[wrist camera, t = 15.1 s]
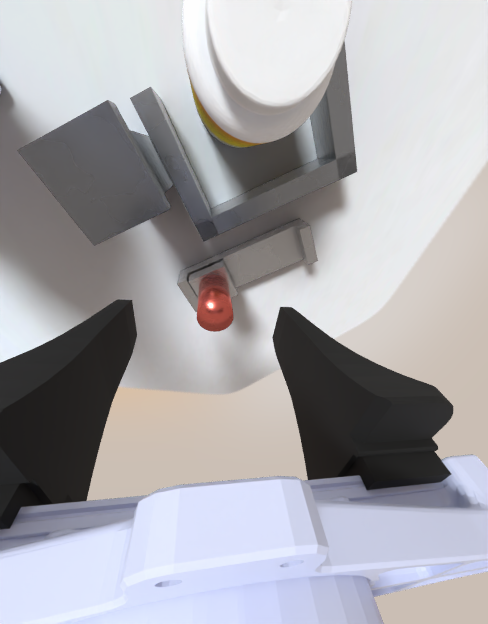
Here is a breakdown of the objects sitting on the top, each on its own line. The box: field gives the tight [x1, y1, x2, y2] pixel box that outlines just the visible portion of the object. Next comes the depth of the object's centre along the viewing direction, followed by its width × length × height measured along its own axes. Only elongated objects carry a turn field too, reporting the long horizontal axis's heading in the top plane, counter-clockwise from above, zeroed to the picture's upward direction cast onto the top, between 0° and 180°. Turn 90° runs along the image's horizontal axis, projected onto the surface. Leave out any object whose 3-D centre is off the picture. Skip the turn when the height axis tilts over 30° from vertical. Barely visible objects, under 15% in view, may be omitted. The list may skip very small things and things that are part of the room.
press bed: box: [17, 42, 357, 245], centre depth 13 cm, size 15×8×8 cm, turn 112°
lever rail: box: [177, 218, 318, 312], centre depth 20 cm, size 11×3×2 cm, turn 112°
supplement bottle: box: [182, 0, 352, 148], centre depth 10 cm, size 6×6×10 cm
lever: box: [189, 261, 238, 331], centre depth 18 cm, size 3×3×5 cm
